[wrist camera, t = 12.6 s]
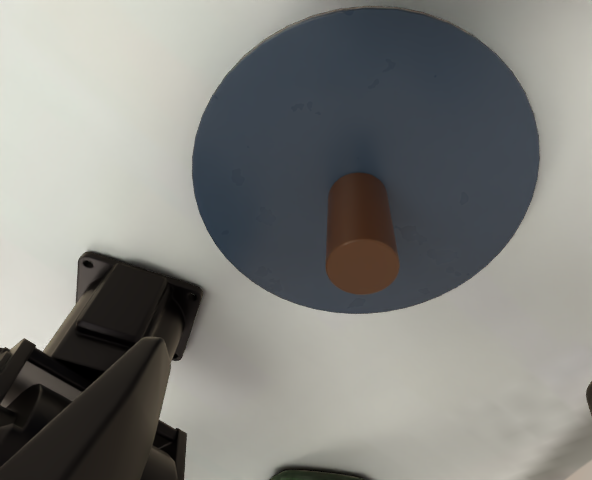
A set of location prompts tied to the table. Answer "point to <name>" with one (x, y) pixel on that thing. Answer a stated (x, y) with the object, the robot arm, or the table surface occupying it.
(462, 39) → the pot lid
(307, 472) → the coffee jar
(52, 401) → the robot arm
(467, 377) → the table surface
